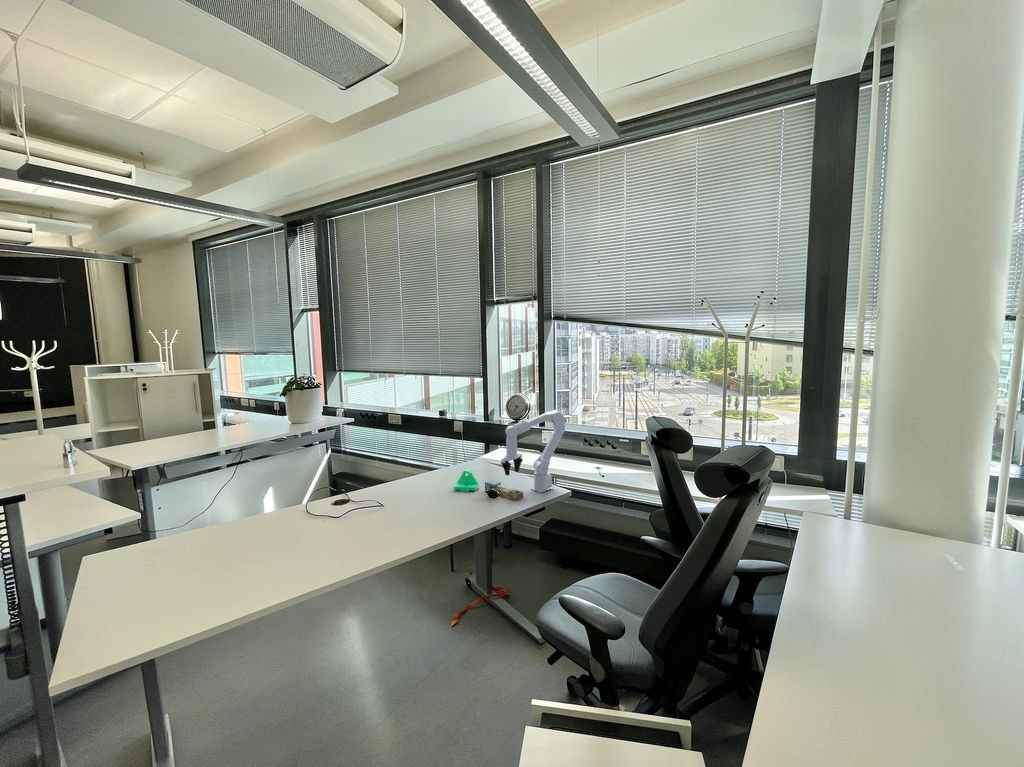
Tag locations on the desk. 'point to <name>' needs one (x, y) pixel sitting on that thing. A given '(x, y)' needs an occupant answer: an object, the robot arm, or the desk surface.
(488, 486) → the keeper
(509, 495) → the lever
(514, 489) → the pintle
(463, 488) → the green triangular piece
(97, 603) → the desk surface
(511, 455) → the robot arm
